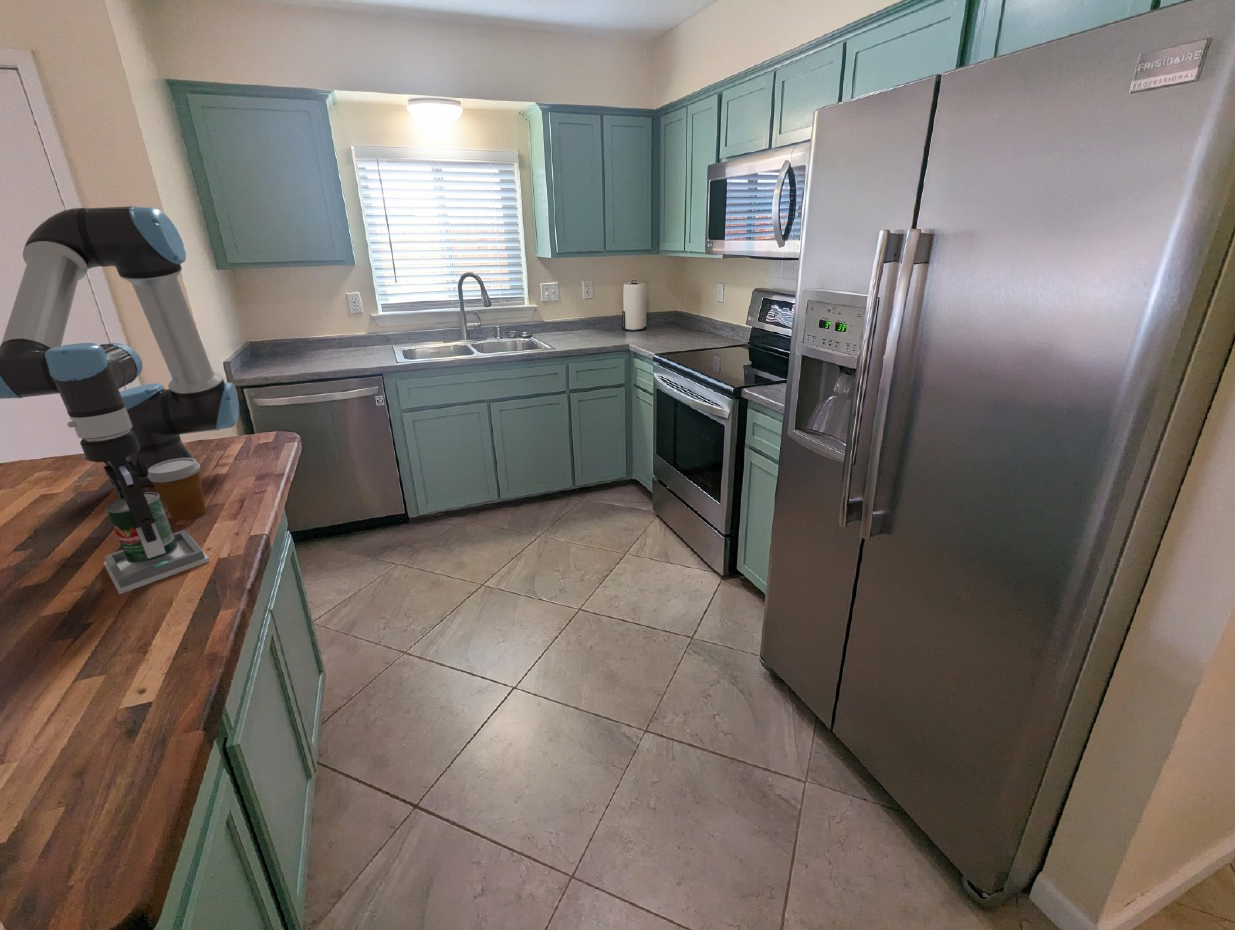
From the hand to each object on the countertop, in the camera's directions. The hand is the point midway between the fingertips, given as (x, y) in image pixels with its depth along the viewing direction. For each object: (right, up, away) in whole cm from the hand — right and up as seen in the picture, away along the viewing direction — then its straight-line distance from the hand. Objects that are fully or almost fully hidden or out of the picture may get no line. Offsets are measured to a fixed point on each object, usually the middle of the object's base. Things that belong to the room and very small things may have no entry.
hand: (151, 547), depth 111 cm
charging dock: (0, -3, +1) cm, 4 cm away
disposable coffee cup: (-8, +4, +21) cm, 23 cm away
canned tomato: (0, -1, +1) cm, 1 cm away
